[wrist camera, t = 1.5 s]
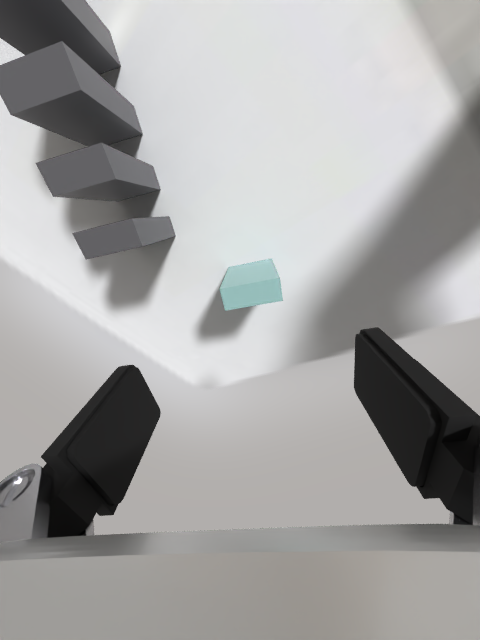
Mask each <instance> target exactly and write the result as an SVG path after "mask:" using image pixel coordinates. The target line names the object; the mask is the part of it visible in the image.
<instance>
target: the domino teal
mask: <svg viewBox="0 0 480 640" xmlns="http://www.w3.org/2000/svg"><path fill="white" fill-rule="evenodd" d="M220 293H221V297H222V300H223V304H224V308H225V311H226V310H232V309H238V308H244V307H249V306H255V305H261V304H266V303H272V302H278V301H283V298H282V291H281V283H280V277H279V275H278V272H277V270H276V268H275V265H274V263H273V261H272V258H271V259H267V260H262V261H257V262H252V263H247V264H242V265H237V266H232V267H229V268H228V270H227V273H226V275H225V277H224V280H223V282H222V284H221V287H220Z"/></svg>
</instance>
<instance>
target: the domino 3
mask: <svg viewBox="0 0 480 640" xmlns="http://www.w3.org/2000/svg"><path fill="white" fill-rule="evenodd" d="M36 165H37V167H38V168H39V170H40V172H41V174H42V176H43V178H44V180H45V182H46V184H47V186H48V188H49V190H50V192H51V193H52V195H53V197H65V198H78V199H91V200H104V201H120V200H124V199H128V198H131V197H135V196H139V195H143V194H146V193H150V192H154V191H158V190H161V189H160V186H159V183H158V180H157V177H156V174H155V171H154V167H153V166H151V165H149V164H147V163H145V162H143V161H141V160H138V159H136V158H134V157H132V156H130V155H128V154H125V153H123V152H121V151H119V150H117V149H114V148H112V147H110V146H108V145H106V144H104V143H99V144H95V145H92V146H89V147H86V148H83V149H79V150H76V151H73V152H70V153H67V154H63V155H60V156H57V157H54V158H51V159H47V160H44V161H41V162H38V163H36Z"/></svg>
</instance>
